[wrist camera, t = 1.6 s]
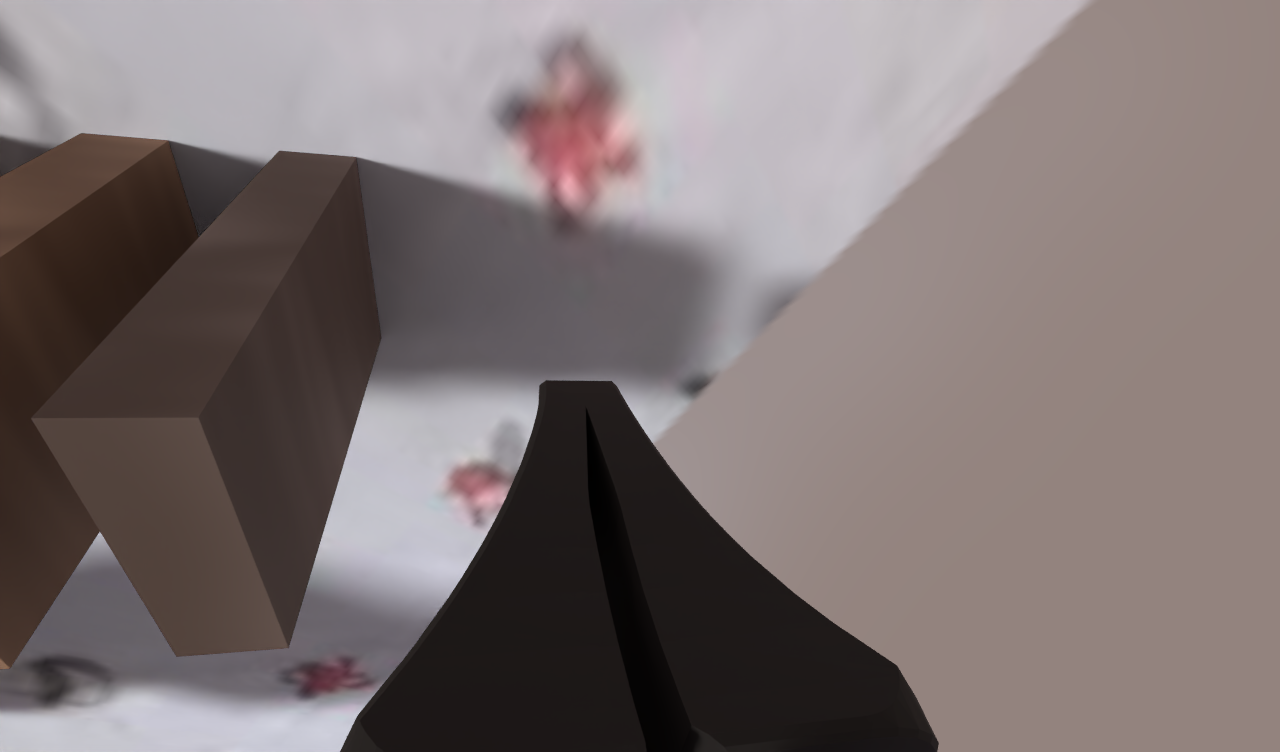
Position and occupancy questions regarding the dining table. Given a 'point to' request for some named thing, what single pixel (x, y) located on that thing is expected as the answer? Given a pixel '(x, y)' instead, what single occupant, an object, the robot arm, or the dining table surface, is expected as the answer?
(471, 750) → the robot arm
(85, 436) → the domino
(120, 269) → the domino
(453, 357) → the dining table surface
